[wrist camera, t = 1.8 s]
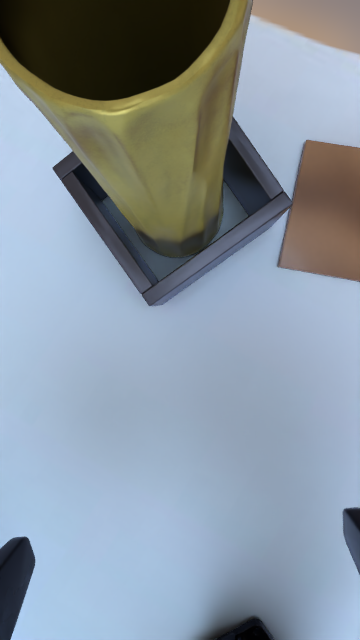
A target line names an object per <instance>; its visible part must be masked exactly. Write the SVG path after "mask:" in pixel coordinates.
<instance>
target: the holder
mask: <svg viewBox="0 0 360 640" xmlns="http://www.w3.org/2000/svg"><path fill="white" fill-rule="evenodd" d="M53 170H54V171H55V173H56V174H57V176H58V177H59V179H60V180H61V181H62V183H63V184H64V186H65V187H66V189H67V190H68V191H69V193H70V194H71V196H72V197H73V198H74V200H75V201H76V203H77V204H78V206H79V207H80V208H81V210H82V211H83V213H84V214H85V215H86V217H87V218H88V220H89V221H90V223H91V224H92V225H93V227H94V228H95V230H96V231H97V233H98V234H99V235H100V237H101V238H102V240H103V241H104V242H105V244H106V245H107V247H108V248H109V250H110V251H111V252H112V254H113V255H114V257H115V258H116V259H117V261H118V262H119V264H120V265H121V267H122V268H123V269H124V271H125V272H126V274H127V275H128V277H129V278H130V279H131V281H132V282H133V284H134V285H135V286H136V288H137V289H138V291H139V292H140V294H142V296H143V298H144V299H145V301H146V302H147V303H148V305H149V306H156V305H163V304H164V303H165V302H167V301H168V300H170V299H171V298H172V297H174V296H175V295H177V294H178V293H179V292H181V291H182V290H184V289H185V288H186V287H188V286H189V285H191V284H192V283H193V282H195V281H196V280H198V279H199V278H200V277H202V276H203V275H205V274H206V273H207V272H209V271H210V270H212V269H213V268H214V267H216V266H217V265H219V264H220V263H221V262H223V261H224V260H226V259H227V258H228V257H230V256H231V255H233V254H234V253H235V252H237V251H238V250H240V249H241V248H242V247H244V246H245V245H247V244H248V243H249V242H251V241H252V240H254V239H255V238H256V237H258V236H259V235H261V234H262V233H263V232H265V231H266V230H268V229H269V228H270V227H272V225H273V224H274V223H275V222H276V221H277V220H278V219H279V218H280V217H281V216H282V215H283V214H284V213H285V212H286V211H287V210H288V209H289V208H290V206H291V205H292V204H293V203H292V201H291V200H290V198H289V197H288V195H287V194H286V193H285V192H283V191H284V190H283V188H282V187H281V185H280V184H279V182H278V181H277V180H276V178H275V177H274V175H273V174H272V172H271V171H270V169H269V168H268V167H267V165H266V164H265V162H264V161H263V159H262V158H261V156H260V155H259V154H258V152H257V151H256V149H255V148H254V146H253V145H252V143H251V142H250V141H249V139H248V138H247V136H246V135H245V133H244V132H243V131H242V129H241V128H240V126H239V125H238V123H237V122H236V120H235V119H234V118H233V117H232V123H231V128H230V134H229V139H228V144H227V149H226V155H225V160H224V166H223V179H224V180H225V182H226V183H227V185H228V186H229V187H230V189H231V190H232V192H233V193H234V195H235V196H236V198H237V199H238V200H239V202H240V203H241V205H242V206H243V208H244V209H245V210H246V212H247V213H248V215H249V217H248V218H246V219H245V220H243V221H242V222H241V223H239V224H238V225H236V226H235V227H234V228H232V229H231V230H230V231H228V232H227V233H225V234H224V235H223V236H221V237H220V238H219V239H217V240H216V241H214V242H213V243H212V244H210V245H209V246H208V247H206V248H205V249H203V250H202V251H201V252H199V253H198V254H196V255H195V256H194V257H192V258H191V259H190V260H188V261H187V262H185V263H184V264H183V265H181V266H180V267H179V268H177V269H176V270H174V271H173V272H172V273H170V274H169V275H168V276H166V277H165V278H163V279H162V280H161V281H158V280H157V278H156V277H155V276H154V274H153V273H152V271H151V270H150V268H149V267H148V266H147V264H146V263H145V261H144V260H143V259H142V257H141V256H140V254H139V253H138V251H137V250H136V249H135V247H134V246H133V244H132V243H131V241H130V240H129V239H128V237H127V236H126V234H125V233H124V232H123V230H122V229H121V227H120V226H119V224H118V223H117V222H116V220H115V219H114V217H113V216H112V214H111V213H110V212H109V210H108V209H107V207H106V206H105V204H104V203H103V202H102V200H103V199H104V198H105V197H107V196H108V194H107V193H106V192H105V191H104V190H103V188H102V187H101V186H100V184H99V183H98V182H97V180H96V179H95V178H94V177H93V175H92V174H91V173H90V172H89V170H88V169H87V168H86V167H85V165H84V164H83V163H82V162H81V161H80V159H79V158H78V157H77V156H76V154H75V153H74V152H73V151H72V152H71V153H70V154H69V155H68V156H66V157H65V158H64V159H63V160H61V161H60V162H59V163H58V164H56V165H55V166H54V167H53Z"/></svg>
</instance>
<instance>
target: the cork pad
mask: <svg viewBox="0 0 360 640" xmlns="http://www.w3.org/2000/svg"><path fill="white" fill-rule="evenodd" d="M292 203H293V204H292V205H291V208H290V212H289V217H288V222H287V226H286V231H285V236H284V240H283V245H282V250H281V254H280V259H279V263H278V267H282V268H287V269H293V270H298V271H304V272H309V273H315V274H321V275H326V276H332V277H337V278H343V279H348V280H354V281H359V282H360V148H357V147H351V146H344V145H338V144H331V143H324V142H318V141H311V140H306V142H305V143H304V147H303V152H302V157H301V161H300V166H299V171H298V175H297V180H296V185H295V189H294V194H293V199H292Z"/></svg>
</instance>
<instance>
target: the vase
mask: <svg viewBox="0 0 360 640" xmlns="http://www.w3.org/2000/svg"><path fill="white" fill-rule="evenodd" d="M252 4H253V0H0V63H1V65H2V66H3V67H4V69H5V70H6V71H7V73H8V74H9V75H10V77H11V78H12V80H13V81H14V82H15V84H16V85H17V86H18V87H19V89H20V90H21V91H22V92H23V93H24V94H25V95H26V96H27V97H28V98H29V99H30V100H31V101H32V102H33V103H34V104H35V106H36V107H37V108H38V109H39V110H40V111H41V113H42V114H43V115H44V116H45V117H46V119H47V120H48V121H49V122H50V123H51V125H52V126H53V127H54V128H55V129H56V131H57V132H58V133H59V134H60V135H61V137H62V138H63V139H64V140H65V141H66V143H67V144H68V145H69V146H70V148H71V149H72V150H73V152H74V153H75V154H76V156H77V157H78V158H79V159H80V161H81V162H82V163H83V164H84V165H85V167H86V168H87V169H88V170H89V172H90V173H91V174H92V175H93V177H94V178H95V179H96V180H97V182H98V183H99V184H100V186H101V187H102V188H103V190H104V191H105V192H106V193H107V194H108V196H109V197H110V198H111V199H112V201H113V202H114V203H115V205H116V206H117V207H118V209H119V210H120V211H121V213H122V214H123V215H124V216H125V218H126V219H127V220H128V221H129V223H130V224H131V225H132V226H133V227H134V229H135V230H136V233H137V234H138V236H139V238H140V239H141V241H142V242H143V243H144V244H145V245H146V246H147V247H149V248H150V249H152V250H153V251H155V252H157V253H158V254H161V255H163V256H168V257H185V256H189V255H192V254H194V253H196V252H199V251H200V250H202V249H203V248H205V247H206V246H207V245H208V244H209V242H210V241H211V240H212V239H213V238H214V236H215V235H216V234H217V232H218V231H219V228H220V225H221V221H222V217H223V166H224V160H225V155H226V149H227V144H228V139H229V134H230V128H231V123H232V117H233V111H234V105H235V98H236V92H237V87H238V81H239V75H240V69H241V63H242V57H243V50H244V44H245V39H246V34H247V29H248V25H249V20H250V15H251V10H252Z"/></svg>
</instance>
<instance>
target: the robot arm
mask: <svg viewBox="0 0 360 640" xmlns="http://www.w3.org/2000/svg"><path fill="white" fill-rule="evenodd" d="M343 532H344V537H345V541H346V544H347V546H348V548H349V551H350V553H351V555H352V558H353V560H354V563H355V565H356V567H357V570H358V572H359V574H360V508H345V509H344V510H343ZM34 566H35V556H34V553H33V550H32V547H31V544H30V541H29V539H28V538H27V537H15V538H12V539H11V540H10V541H8V542H7V543H6V544H5V545H4V546H3V547H2V548H1V549H0V640H10V639H11V636H12V633H13V631H14V628H15V625H16V622H17V619H18V616H19V613H20V610H21V607H22V604H23V600H24V597H25V594H26V591H27V588H28V585H29V582H30V579H31V576H32V573H33V570H34ZM216 640H274V639H273V637H272V636H271V634H270V633H269V632H268V630H267V629H266V627H265V626H264V624H263V623H262V622H261V621H260V620H259V619H252V620H250V621H248V622H247V623H245V624H243V625H241V626H239V627H237V628H236V629H234V630H232V631H230V632H228V633H227V634H225V635H223V636H221V637H219V638H218V639H216Z"/></svg>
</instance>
